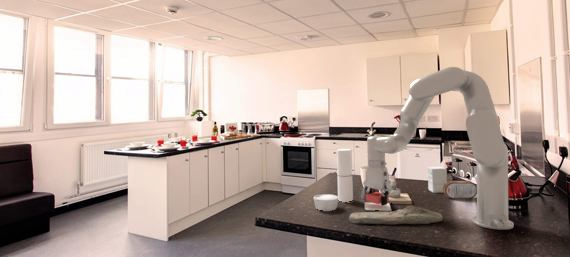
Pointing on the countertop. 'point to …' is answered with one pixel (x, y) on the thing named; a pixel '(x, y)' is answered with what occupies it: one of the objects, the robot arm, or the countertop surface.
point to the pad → (377, 207)
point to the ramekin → (326, 202)
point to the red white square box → (375, 197)
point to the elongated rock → (397, 216)
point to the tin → (460, 189)
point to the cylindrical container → (344, 175)
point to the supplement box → (437, 179)
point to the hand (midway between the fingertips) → (377, 202)
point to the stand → (398, 196)
